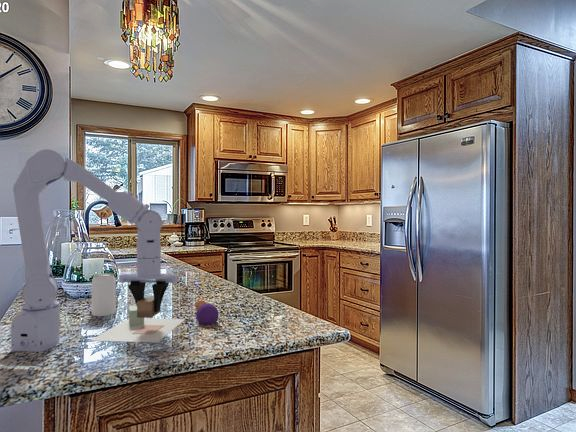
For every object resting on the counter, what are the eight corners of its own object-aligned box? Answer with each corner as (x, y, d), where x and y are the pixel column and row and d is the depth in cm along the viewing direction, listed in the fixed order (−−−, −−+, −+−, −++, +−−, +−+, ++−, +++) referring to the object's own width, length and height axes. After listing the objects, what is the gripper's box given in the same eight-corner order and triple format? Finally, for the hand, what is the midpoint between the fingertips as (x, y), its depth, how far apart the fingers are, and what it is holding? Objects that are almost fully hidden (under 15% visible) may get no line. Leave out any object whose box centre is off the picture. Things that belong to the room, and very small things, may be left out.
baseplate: (157, 344, 93) (157, 341, 93) (89, 343, 94) (89, 340, 94) (185, 321, 113) (185, 318, 113) (129, 320, 114) (129, 317, 114)
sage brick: (144, 324, 107) (144, 309, 107) (129, 326, 106) (129, 310, 106) (142, 319, 113) (142, 304, 113) (128, 320, 111) (128, 306, 111)
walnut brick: (151, 317, 100) (151, 301, 100) (137, 317, 100) (136, 301, 100) (160, 311, 106) (160, 296, 106) (146, 311, 106) (146, 296, 106)
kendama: (212, 297, 127) (221, 306, 108) (209, 316, 126) (217, 329, 107) (193, 294, 125) (199, 303, 106) (189, 314, 125) (195, 326, 106)
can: (106, 318, 115) (106, 276, 115) (86, 317, 117) (86, 275, 117) (120, 313, 122) (120, 273, 122) (101, 312, 123) (101, 272, 123)
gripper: (113, 259, 99) (113, 314, 99) (171, 259, 98) (171, 315, 98) (126, 255, 106) (126, 307, 106) (180, 256, 105) (180, 308, 105)
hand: (148, 311), depth 103 cm, fingers closed on walnut brick, 4 cm apart
